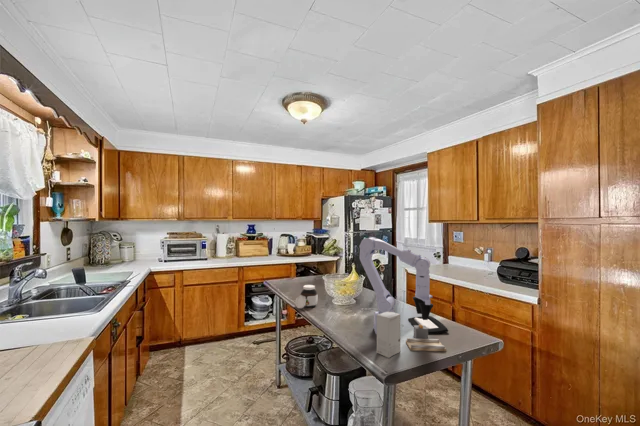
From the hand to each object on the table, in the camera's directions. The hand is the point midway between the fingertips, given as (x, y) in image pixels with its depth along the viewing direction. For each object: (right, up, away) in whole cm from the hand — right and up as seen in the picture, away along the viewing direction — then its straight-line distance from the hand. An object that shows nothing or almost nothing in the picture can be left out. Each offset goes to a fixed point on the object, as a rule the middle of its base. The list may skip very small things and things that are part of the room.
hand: (422, 316), depth 127 cm
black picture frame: (+7, -10, +14) cm, 19 cm away
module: (-1, -10, -1) cm, 10 cm away
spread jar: (-53, -10, +43) cm, 69 cm away
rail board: (-2, -9, -9) cm, 13 cm away
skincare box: (-18, -9, -14) cm, 25 cm away
